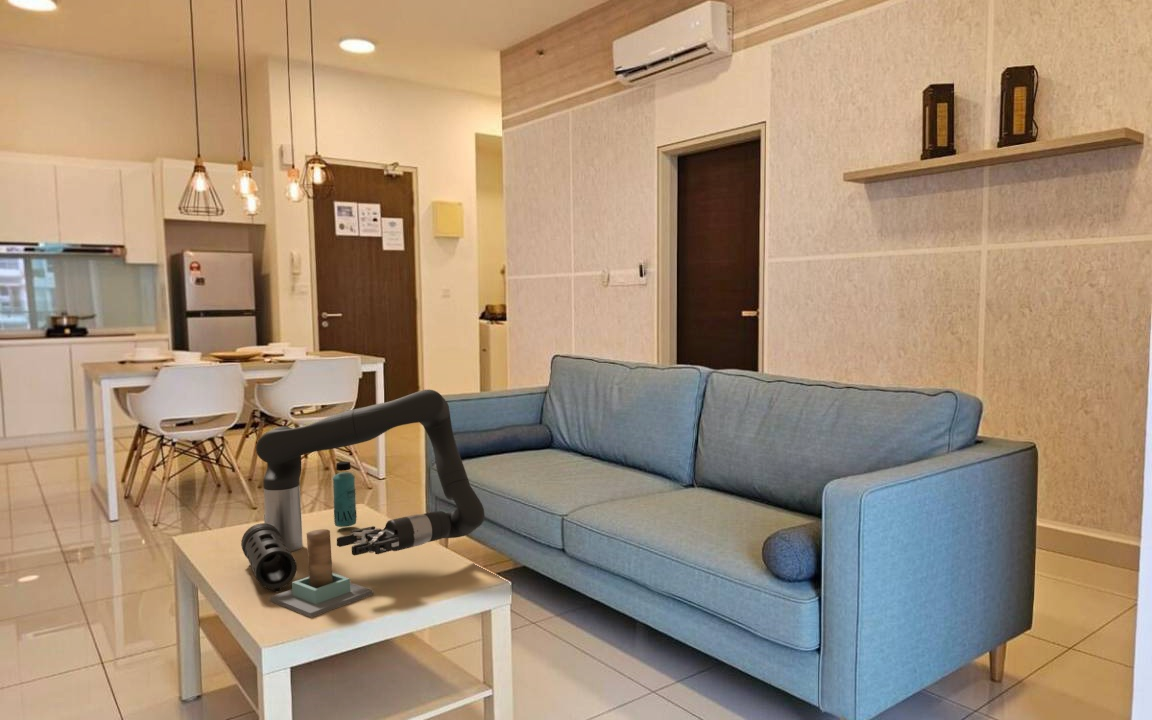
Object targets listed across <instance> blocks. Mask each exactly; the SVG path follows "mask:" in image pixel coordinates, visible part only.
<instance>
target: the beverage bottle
mask: <svg viewBox="0 0 1152 720" xmlns="http://www.w3.org/2000/svg"><path fill="white" fill-rule="evenodd" d="M335 465H336V467H335V471H338V472H339V471H347V472H339V473H336V474H335V475H334V476H333V477H332V490H333V513H334V514H333V518H334V519H333V522H334V526H336V527H339V528H341V527H342V528H346V527H350V526H351V527H352V526H354V525H356V524H357V520H358V516H357V515H358V514H357V505H356V494H357V492H356V486H355V484H356V481H355V479H356V477H355V475H354V474H353V473H351V472H349V471H348V470H351V469H352V468H351V462H350V461H338V462H336V464H335Z"/></svg>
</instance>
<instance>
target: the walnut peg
mask: <svg viewBox="0 0 1152 720" xmlns="http://www.w3.org/2000/svg"><path fill="white" fill-rule="evenodd" d="M306 546H307V562H308V563H307V565H308V577H309V582H310V586H311V587H314V588H319V587H322V586H325V585H328V584H331V583H333V575H332V573H333V561H332V541H331V530H329V529H326V528H325V529H324V528H321V529H313V530H310V531H307V532H306Z"/></svg>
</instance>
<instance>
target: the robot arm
mask: <svg viewBox="0 0 1152 720" xmlns="http://www.w3.org/2000/svg"><path fill="white" fill-rule="evenodd" d="M415 423H417V424H418V423H419V424H420V425H422V426H423V428H424V430H425V433H426V434H427V436H428V438H429V441H430V442H431V445H432V450H433V453H434V461H435V467H436V472H437V476H438V479H439V483H440V484H441V487H442V491H443V494H444V496H445V498H446V499H447V500H449V501H453V503H455V505H456V508H457V509H455V510H454V511H449V512H444V511H442V510H438V511H431V512H426V513H421V514H412V515H407V516H403V517H402V516H401V517H398V518H392V519H390V520H388V521H387V522H386V523H385V526H384V527H383V529H382V528H376V526H373V525H372V526H369V527H368V526H367V527H362V528H358V529H353V530H351V531H350V532H351V533H350V534H346V535H342V536H338V537H337V538H336V546H337V547H338V548H342V547H345V546H351V545H352V546H351V554H352V555H353V556H358V555H362V554H364V555H365V554H367V553H370V554H373V553H374V555H381V554H385V553H388V552H392V551H393V552H397V551H398V552H399V551H402V550H406V549H411V548H414V547H419V546H422V545H424V544H426V543H430V542H435V541H439V540H442V539H454V538H461V537H465V536H468V535H470V534H472V533H473V532H474V531H475V530H476V529H478V528H479V527H480V526H482V524H483V523H484V520H485V517H486V516H485V509H484V506H483V503H482V502H481V500H480V498H479V497H478V495H477V494H476V492H475V491H474V489H473V487H472V486H471V483H470V481H469V478H468V475H467V472H466V469H465V466H464V463H463V461H462V458H461V455H460V452H459V450H458V446H457V444H456V440H455V439H456V438H455V436H454V431H453V425H452V420H451V413H450V406H449V404H448V402H447V400H446V399H445V398H444V396H442V395H441V394H440V393H439V392H438V391H436V390H433V389H423V390H419V391H415V392H413V393H410V394H408V395H404V396H402V397H399V398H397V399H393V400H389V401H386V402H381V403H380V402H379V403H376V404H371V405H368V406H364V407H363V406H362V407H358V408H354V409H350V410H347V411H343V412H339V413H336V414H332V415H330V416H327V417H324V418H322V419H319V420H318V421H315V422H312V423H309V424H306V425H304V426H303V425H302V426H299V427H294V428H292V427H289V426H278V427H275V428H273V429H270V430H268V431H266V432H265V433H263V434H262V435H261V436H260V437H259V439H258V441H257V443H256V447H255V452H256V454H257V456H258V457H259V459H260V460H262V461H263V462H265V463H267V467H266V472H265V474H264V477H263V480H262V481H263V482H262V483H263V484H262V485H263V498H264V499H263V501H264V502H263V503H264V515H263V521H264V523H266V524H270V525H272V526H274V527H275V528H276V529H277V530H278V531H279V533H280V535H281V537H282V540H283V542H284V543H285V545H286V546H287V548H288V549H289V551H290V553H292V552H296V551H298V550H300V549H302V548H303V546H304V542H303V526H302V525H303V521H302V519H303V518H302V504H301V502H302V500H301V487H300V486H301V485H300V483H301V482H300V479H301V478H300V477H301V473H302V456H304V455H306V454H307V455H308V454H311V453H314V452H315V453H316V452H320V451H321V452H322V451H328V450H333V449H338V448H344V447H345V448H346V447H349V446H354V445H357V444H361V443H365V442H369V441H371V440H373V439H376V438H378V437H379V436H381V435H383V434H384V433H386V432H388V431H390V430H391V429H394V428H396V427H399V426H406V425H410V424H415Z"/></svg>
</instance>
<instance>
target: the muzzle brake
mask: <svg viewBox="0 0 1152 720" xmlns="http://www.w3.org/2000/svg"><path fill="white" fill-rule="evenodd" d="M240 541H241V545H240V546H241V550H242V551H243V554H244V556H245V558H246V559H248V562H249V565H250V566H251V569H252V572H253V573H254V576H255V578H256V580H257V582H258V583H259V584H260V585H261V587H264V588H265V589H268V590H273V592H274V593H277V592H280V591H281V588H284V587H286V586H288V584H290V583H292V582H293V579H294V578H295V576H296V573H297V569H298V567H297V562H296V559H295V557H294V556H293V554H292V552H290V551H289V549H288V548H287V546H286V545H285V543H284V542H283V540H282V537H281V535H280V533H279V531H278V530H277V529H276V528H275V527H274V526H272V525H270V524H266V523H257V524H254V525H251V526H250V527H249V528H247V530H246V531H245V532H244V533H243V536H242V538H241V540H240Z"/></svg>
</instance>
